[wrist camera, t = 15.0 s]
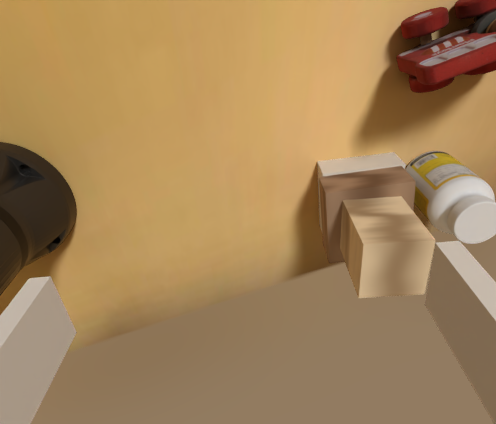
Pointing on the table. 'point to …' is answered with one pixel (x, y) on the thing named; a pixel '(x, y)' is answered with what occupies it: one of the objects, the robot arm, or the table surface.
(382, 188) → the walnut block upper
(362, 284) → the oak block
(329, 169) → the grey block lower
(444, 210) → the pill bottle
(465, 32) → the toy fire truck
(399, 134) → the table surface
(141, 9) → the table surface
